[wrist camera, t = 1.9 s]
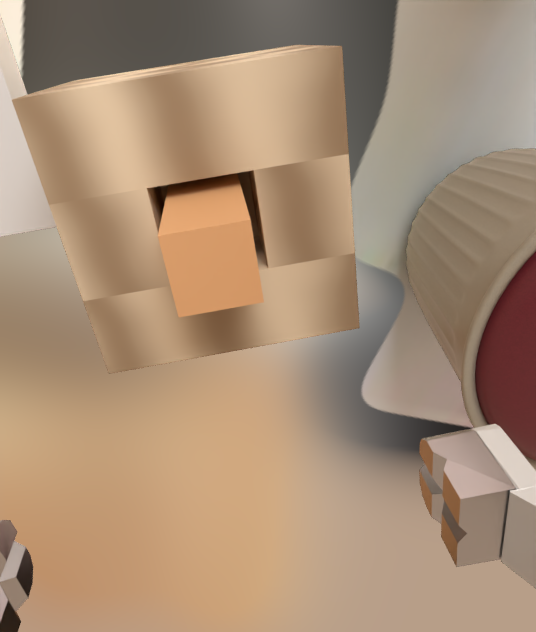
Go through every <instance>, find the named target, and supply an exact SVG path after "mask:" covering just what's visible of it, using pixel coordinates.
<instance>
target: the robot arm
mask: <svg viewBox="0 0 536 632" xmlns="http://www.w3.org/2000/svg"><path fill="white" fill-rule="evenodd" d="M420 455H421V457H422V459H423V461H424V465H423V466H422V467H421V469H420V470H419V472H420V473H419V474H420V486H421V490H422V495H423V498H424V501H425V504H426V507H427V509H428V511H429V513H430V515H431V517H432V518H433V519H435V520H437V521H438V522H440V523H441V537H442V539H443V541H444V543H445V545H446V547H447V549H448V551H449V553H450V555H451V557H452V559H453V561H454V563H455V565H456V567H459V566H465V565H471V564H476V563H481V562H488V561H494V560H499V559H501V562H502V563H503V564H505V565H506V566H507V567H508V568H510V569H511V570H512V571H514V572H515V573H516V574H518V575H519V576H520V577H521V578H523V579H524V580H526V581H527V582H528V583H529V584H531V585H532V586H533V587H534V588H536V470H535V469H534V468H533V467H532V465H531V464H530V463H529V462H528V460H527V459H526V458H525V457H524V455H523V454H522V453H521V452H520V450H519V449H518V448H517V447H516V445H515V444H514V443H513V442H512V440H511V439H510V438H509V437H508V436H507V434H506V433H505V432H504V431H503V429H502V428H501V427H500V426H498V425H497V424H491V425H486V426H481V427H477V428H472V429H470V430H469V429H467V430H462V431H458V432H452V433H447V434H442V435H437V436H433V437H428V438H423V439H421V442H420ZM16 534H17V530H16V529H15V527H14V526H13V524H12V523H11V521H10V520H0V632H18V629H19V626H20V623H21V620H20V618H19V616H18V614H17V612H16V611H17V610H18V609H19V608H20V606H21V605H22V604H23V603H24V602H25V601H26V600H27V599H28V597H29V593H30V590H31V586H32V580H33V564H32V560H31V556H30V554H29V552H28V550H27V548H26V547H25V546H23V545H21V544H19V543H17V542H15V541H14V540H15V537H16Z"/></svg>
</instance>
